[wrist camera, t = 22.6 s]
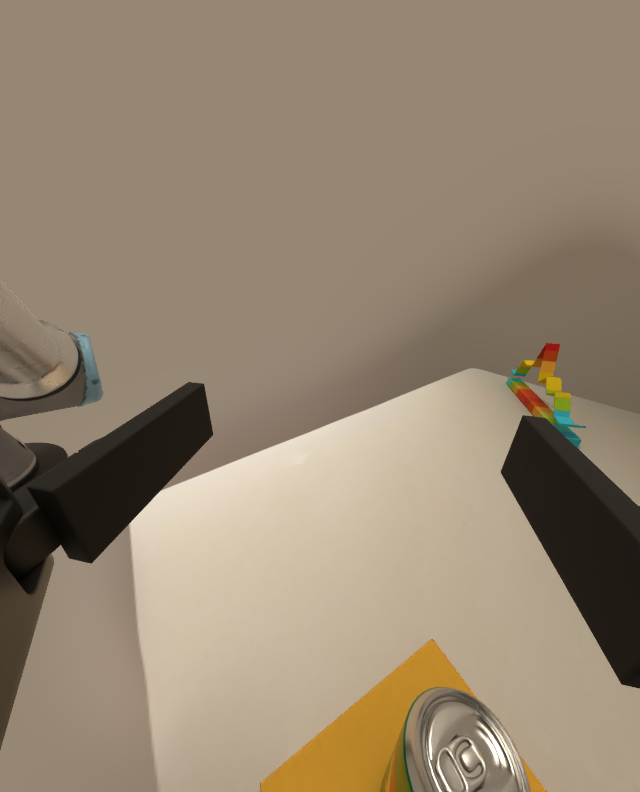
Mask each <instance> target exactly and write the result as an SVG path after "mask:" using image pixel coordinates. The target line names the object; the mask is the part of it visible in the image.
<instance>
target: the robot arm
mask: <svg viewBox="0 0 640 792" xmlns="http://www.w3.org/2000/svg"><path fill="white" fill-rule="evenodd" d="M102 396H103V390H102V386H101V382H100V378H99V374H98V370H97V366H96V362H95V358H94V354H93V350H92V346H91V342H90V338H89V336H88V335H86V334H84V333H75V332H71V333H69V334H66V333H65V332H64V331H63V330H61V329H60V328H58V327H56V326H55V325H52V324H50V323H48V322H45V321H42V320H38V319H37V318H36V317H35V316H34V315H33V314H32V313H31V312H30V310H29V309H28V308H27V307H26V306H25V305H24V304H23V303H22V302H21V300H20V299H19V298H18V297H17V296H16V295H15V294H14V293H13V292H12V291H11V290H10V288H8V286H7V285H6V284H5V283H4V282H3V281H2V280H1V279H0V421H1V420H5V419H11V418H16V417H21V416H27V415H32V414H37V413H43V412H48V411H53V410H58V409H64V408H70V407H75V406H78V407H79V406H84V405H85V404H89V403H93V402H97V401H99V400H100V399H101V398H102ZM212 435H213V431H212V425H211V420H210V414H209V409H208V404H207V399H206V392H205V387H204V384H200V383H191V382H189V383H187V384H185V385H184V386H182V387H181V388H179V389H177V390H176V391H174V392H173V393H171V394H170V395H168V396H167V397H165V398H164V399H162V400H160V401H159V402H157V403H156V404H154V405H153V406H151V407H150V408H148V409H147V410H145V411H143V412H142V413H140V414H139V415H137V416H136V417H134V418H133V419H131V420H129V421H128V422H126V423H125V424H123V425H122V426H120V427H119V428H117V429H116V430H114V431H112V432H111V433H109V434H108V435H106V436H105V437H102V438H100V439H98V440H95V441H93V442H92V443H90V444H88V445H87V446H85V447H84V448H82V449H81V450H79V452H78V453H74V454H73V455H71V456H70V457H68V458H66V461H62V462H60V463H59V464H57V465H55V466H54V467H52V468H51V469H49V470H48V471H46V472H44V473H43V474H41V475H40V476H38V477H37V478H35V479H33V480H32V481H30V482H29V483H27V484H26V485H24V486H23V487H21V486H22V485H23V484H25V483H26V482H27V481H28V480H29V479H30V478H31V477H32V476H33V475H34V474H35V472H36V471H37V469H38V466H39V462H38V460H37V458H36V456H35V455H34V453H33V451H31V450H30V449H28V448H27V447H26V446H25V444H24V443H23V442H22V441H20V440H19V439H18V438H17V439H18V440H19V441H18V440H17V439H15V438H14V437H12V436H11V435H10V434H9V433H7V432H6V431H5V430H3V428H2V427H1V425H0V749H1V745H2V742H3V739H4V735H5V732H6V728H7V725H8V721H9V718H10V714H11V711H12V707H13V704H14V700H15V697H16V694H17V690H18V686H19V683H20V680H21V676H22V673H23V669H24V666H25V662H26V659H27V655H28V652H29V648H30V645H31V642H32V638H33V634H34V631H35V628H36V624H37V620H38V617H39V614H40V610H41V607H42V603H43V600H44V596H45V593H46V590H47V586H48V582H49V579H50V576H51V572H52V569H53V565H54V558H53V556H52V554H51V553H52V552H53V551H54V550H56V548H58V547H59V546H60V545H61V546H62V547H63V549H64V551H65V552H66V554H67V556H68V557H69V558H70V559H74V560H79V561H83V562H87V563H92V562H93V561H94V560H95V559H96V558H97V557H98V556H99V555H100V554H101V553H102V552H103V551H104V550H105V549H106V547H108V545H109V544H110V543H111V542H112V541H113V540H114V539H115V538H116V537H117V536H118V535H119V534H120V533H121V532H122V531H123V529H125V527H126V526H127V525H128V524H129V523H130V522H131V521H132V520H133V519H134V518H135V517H136V516H137V515H138V514H139V513H140V512H141V511H142V510H143V508H144V507H145V506H146V505H147V504H148V503H149V502H150V501H151V500H152V499H153V498H154V497H155V496H156V495H157V494H158V493H159V492H160V490H161V489H162V488H163V487H164V486H165V485H166V484H167V483H168V482H169V481H170V480H171V479H172V478H173V477H174V476H175V475H176V474H177V472H178V471H179V470H180V469H181V468H182V467H183V466H184V465H185V464H186V463H187V462H188V461H189V460H190V459H191V457H193V456H194V454H195V453H196V452H197V451H198V450H199V449H200V448H201V447H202V446H203V445H204V444H205V443H206V442H207V441H208V440H209V439H210V438H211V437H212ZM501 474H502V476H503V477H504V479H505V481H506V483H507V484H508V486H509V488H510V490H511V491H512V493H513V495H514V497H515V498H516V500H517V502H518V504H519V505H520V507H521V509H522V511H523V512H524V514H525V516H526V518H527V519H528V521H529V523H530V525H531V526H532V528H533V530H534V532H535V533H536V535H537V537H538V539H539V540H540V542H541V544H542V546H543V547H544V549H545V551H546V553H547V554H548V556H549V558H550V560H551V561H552V563H553V565H554V567H555V568H556V570H557V572H558V574H559V575H560V577H561V579H562V581H563V583H564V584H565V586H566V588H567V590H568V591H569V593H570V595H571V597H572V598H573V600H574V602H575V604H576V605H577V607H578V609H579V611H580V612H581V614H582V616H583V618H584V619H585V621H586V623H587V625H588V626H589V628H590V630H591V632H592V633H593V635H594V637H595V639H596V640H597V642H598V644H599V646H600V647H601V649H602V651H603V653H604V654H605V656H606V658H607V660H608V661H609V663H610V665H611V667H612V668H613V670H614V672H615V674H616V675H617V677H618V679H619V681H620V682H621V684H622V685H627V686H631V687H636V688H640V506H637V505H636V504H635V503H634V502H633V501H632V500H631V499H630V498H629V497H628V496H627V495H626V494H625V493H624V492H623V491H622V490H621V489H620V488H619V487H618V486H617V485H615V484H614V483H613V482H612V481H611V480H610V479H609V478H608V477H607V476H606V475H605V474H604V473H603V472H602V471H601V470H600V469H599V468H598V467H597V466H596V465H594V464H593V463H592V462H591V461H590V460H589V459H588V458H587V457H586V456H585V455H584V454H583V453H582V452H581V451H580V450H579V449H578V448H577V447H576V446H575V445H574V444H572V443H571V442H570V441H569V440H568V439H567V438H566V437H565V436H564V435H563V434H562V433H561V432H560V431H559V430H558V429H557V428H556V427H555V426H554V425H553V424H551V423H550V422H549V421H548V420H547V419H546V418H543V417H533V416H522V419H521V421H520V424H519V427H518V429H517V432H516V434H515V437H514V439H513V442H512V444H511V447H510V450H509V452H508V455H507V457H506V460H505V462H504V465H503V467H502V470H501ZM19 487H21V488H19ZM18 488H19V489H18ZM16 489H18V490H16ZM15 490H16V491H15ZM13 491H15V492H13ZM12 492H13V493H12Z"/></svg>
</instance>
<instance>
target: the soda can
mask: <svg viewBox="0 0 640 792" xmlns="http://www.w3.org/2000/svg"><path fill="white" fill-rule="evenodd" d="M380 792H531V791H530V786H529V781H528V778H527V774H526V771H525V768H524V765H523V762H522V760H521V757H520V755H519V753H518V751H517V749H516V747H515V745H514V743H513V741H512V739H511V737H510V736H509V734H508V732H507V731H506V729H505V728H504V727H503V725H502V724H501V722H500V721H499V720H498V719H497V717H496V716H495V715H494V714H493V713H492V712H491V711H490V710H489V709H488V708H487V707H486V706H485V705H484V704H483V703H482V702H480V701H479V700H478V699H477V698H475V697H474V696H472V695H470V694H468V693H466V692H464V691H462V690H459V689H454V688H448V687H434V688H430V689H428V690H426V691H424V692H422V693H421V694H420V695H419V696H418V697H417V698H416V699H415V700H414V702H413V703H412V705H411V707H410V709H409V711H408V713H407V716H406V719H405V721H404V724H403V727H402V729H401V732H400V734H399V737H398V740H397V742H396V745H395V747H394V750H393V753H392V755H391V758H390V761H389V763H388V766H387V768H386V771H385V774H384V777H383V780H382V783H381V788H380Z"/></svg>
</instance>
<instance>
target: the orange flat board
mask: <svg viewBox="0 0 640 792" xmlns="http://www.w3.org/2000/svg"><path fill="white" fill-rule="evenodd" d="M434 687H448V688H454V689H459V690H462V691H464V692H466V693H468V694H470V695H472V696H474V697H475V698H476V696H475V695H474V694H473V692H472V691H471V690H470V688H469V687H468V686H467V684H466V683H465V682H464V680H463V679H462V678H461V676H460V675H459V674H458V672H457V671H456V670H455V668H454V667H453V666H452V664H451V663H450V662H449V660H448V659H447V658H446V656H445V655H444V654H443V652H442V651H441V649H440V648H439V647H438V645H437V644H436V643H435V641H434V640H433V639H431V640H430V641H429V642H428V643H427V644H425V645H424V646H423V647H422V648H421V649H420V650H418V651H417V652H416V653H415V654H414V655H412V656H411V657H410V658H409V659H408V660H406V661H405V662H404V663H403V664H402V665H401V666H399V667H398V668H397V669H396V670H395V671H393V672H392V673H391V674H390V675H389V676H387V677H386V678H385V679H384V680H383V681H382V682H380V683H379V684H378V685H377V686H376V687H374V688H373V689H372V690H371V691H370V692H368V693H367V694H366V695H365V696H364V697H363V698H361V699H360V700H359V701H358V702H357V703H355V704H354V705H353V706H352V707H351V708H349V709H348V710H347V711H346V712H345V713H344V714H342V715H341V716H340V717H339V718H338V719H336V720H335V721H334V722H333V723H332V724H330V725H329V726H328V727H327V728H326V729H325V730H323V731H322V732H321V733H320V734H319V735H317V736H316V737H315V738H314V739H313V740H311V741H310V742H309V743H308V744H307V745H306V746H304V747H303V748H302V749H301V750H300V751H298V752H297V753H296V754H295V755H294V756H292V757H291V758H290V759H289V760H288V761H287V762H285V763H284V764H283V765H282V766H281V767H279V768H278V769H277V770H276V771H275V772H273V773H272V774H271V775H270V776H269V777H267V778H266V779H265V780H264V781H263V782H262V783H260V787H261V792H380V788H381V783H382V780H383V777H384V774H385V771H386V768H387V766H388V763H389V761H390V758H391V755H392V753H393V750H394V747H395V745H396V742H397V740H398V737H399V734H400V732H401V729H402V727H403V724H404V721H405V719H406V716H407V713H408V711H409V709H410V707H411V705H412V703H413V702H414V700H415V699H416V698H417V697H418V696H419V695H420V694H421V693H422V692H424V691H426V690H428V689H430V688H434ZM521 760H522V762H523V765H524V768H525V771H526V774H527V778H528V781H529V786H530V791H531V792H547V791H546V790H545V789H544V787H543V786H542V785H541V783H540V782H539V781H538V779H537V778H536V777H535V775H534V774H533V773H532V771H531V770H530V769H529V767H528V766H527V765H526V763H525V762H524V761H523V759H522V758H521Z"/></svg>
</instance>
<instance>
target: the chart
mask: <svg viewBox="0 0 640 792" xmlns="http://www.w3.org/2000/svg"><path fill="white" fill-rule="evenodd" d="M559 347H560V344H549V343H547V344H546V345H545V346H544V348H543V349H542V351H541V353H540V354H539V356H538V357H537V358H536V360H535V361H529V360H523V362H522V363H521V365H520V366H519V368H518V369H517V370H511V372H512V373H513V375H515V376H525V375H526V374H527V373H528V371H529V370H530V368H531V367H541V369H540V373H539V377H538V383H545V384H546V394H547V395H552V396H555V399H554V412H553V411H552V410H551V409H550V408H549V407H548V406H547V405H546V404H545V403H544V402H543V401H542V400H541V399H540V398H539V397H538V396H537V395H536V394H535V393H534V392H533V391H532V390H531V389H530V388H529V387H528V386H527V385H526V384H525V383H524V382H523V381H522V380H521V379H519V378H508V381H507V385H508V386H509V387H510V389H511V390H512V391H513V392H514V393H515V395H516V396H517V397H518V398H519V399H520V401H521V402H522V403H523V404H524V405H525V407H526V408H527V409H528V410H529V411H530V412H531V414H532V415H533V416H534V417H543V418H546V419H547V420H548V421H549V422H550V423H551V424H553V425H554V426H555V427H556V428H557V429H558V430H559V431H560V432H561V433H562V434H563V435H564V436H565V437H566V438H567V439H568V440H569V441H570V442H571V443H572V444H574V445H575V446H576V447H577V448H578V446H579V444H580V442H581V439H580V438H579V437H578V436H577V435H576V434H575V433H574V432H573V431H572V430H571V429H570V428H569V427H568V426H570V427H578V428H586V426H578V425H575V424H574V423H573V421H572V420H571V418H570V417H569V416H570V400H571V393H562V392H561V378H556V377H553V373H554V369H555V364H556V360H557V356H558V351H559Z"/></svg>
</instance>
